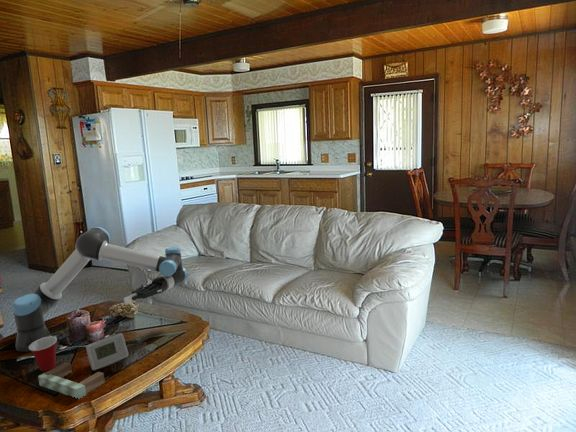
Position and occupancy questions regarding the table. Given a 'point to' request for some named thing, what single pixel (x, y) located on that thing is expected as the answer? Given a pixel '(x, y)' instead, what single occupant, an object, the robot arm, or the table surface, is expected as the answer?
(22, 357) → the table surface
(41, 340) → the plastic cup
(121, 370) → the table surface
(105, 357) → the digital clock
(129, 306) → the mineral formation
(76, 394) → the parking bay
